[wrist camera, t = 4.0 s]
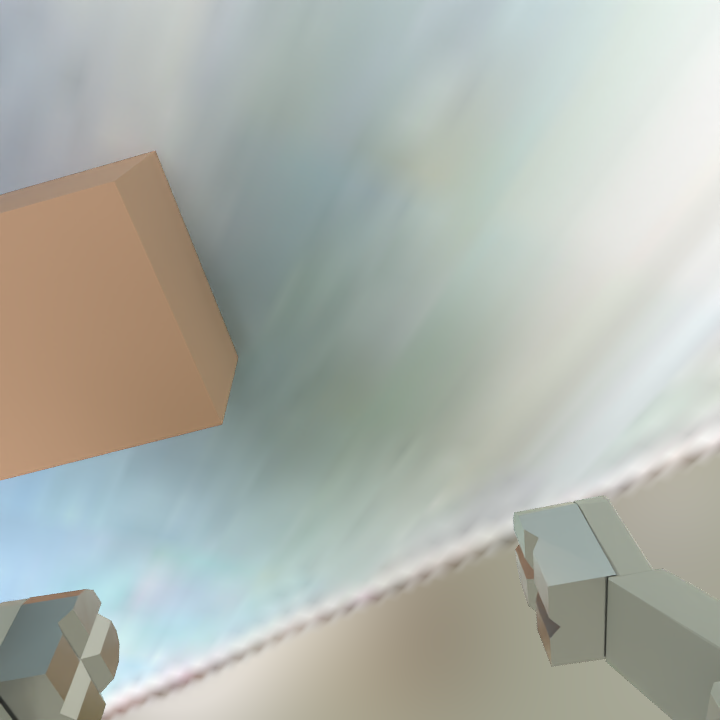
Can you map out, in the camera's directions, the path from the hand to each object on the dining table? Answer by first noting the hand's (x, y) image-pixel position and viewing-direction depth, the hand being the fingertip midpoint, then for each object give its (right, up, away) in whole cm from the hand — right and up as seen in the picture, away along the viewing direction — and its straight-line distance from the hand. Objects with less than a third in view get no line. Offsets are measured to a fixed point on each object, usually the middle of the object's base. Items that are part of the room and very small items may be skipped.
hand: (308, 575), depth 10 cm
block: (-11, +7, +18) cm, 22 cm away
